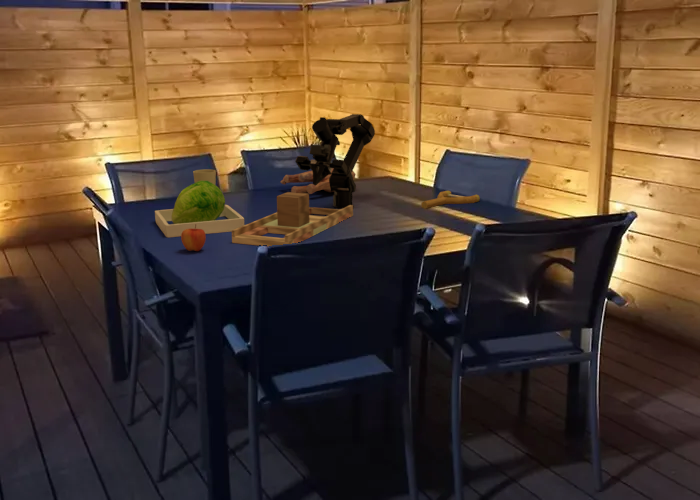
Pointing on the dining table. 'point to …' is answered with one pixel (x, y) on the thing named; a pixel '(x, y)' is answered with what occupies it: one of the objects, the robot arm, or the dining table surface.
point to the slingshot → (449, 200)
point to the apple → (193, 239)
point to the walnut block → (293, 209)
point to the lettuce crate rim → (199, 223)
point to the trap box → (292, 234)
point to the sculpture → (308, 177)
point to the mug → (205, 175)
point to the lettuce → (198, 203)
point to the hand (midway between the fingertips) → (314, 184)
